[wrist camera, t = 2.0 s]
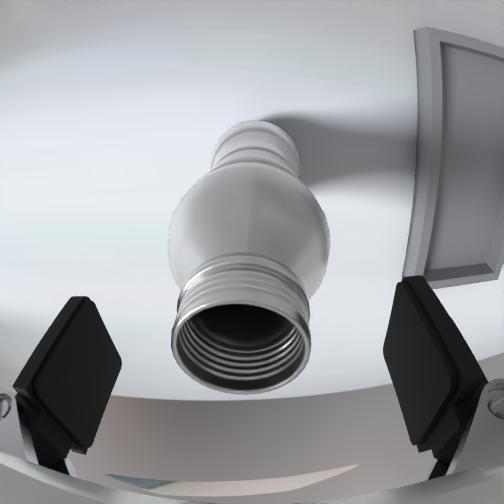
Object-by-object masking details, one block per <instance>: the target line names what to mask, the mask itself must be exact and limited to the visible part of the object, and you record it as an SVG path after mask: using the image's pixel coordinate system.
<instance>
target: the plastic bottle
mask: <svg viewBox="0 0 504 504" xmlns="http://www.w3.org/2000/svg"><path fill="white" fill-rule="evenodd" d="M299 164H300V162H299V154H298V151H297V148H296V145H295V144H294V142H293V140H292V139H291V137H290V136H289V135H288V134H287V133H286V132H285V131H284V130H282V129H281V128H280V127H278V126H276V125H274V124H272V123H269V122H265V121H256V120H251V121H246V122H242V123H239V124H237V125H235V126H233V127H232V128H230V129H229V130H227V131H226V132H225V133H224V134H223V135H222V136H221V137H220V139H219V141H218V142H217V144H216V146H215V148H214V151H213V155H212V161H211V171H210V172H209V173H208V174H206V175H205V176H204V177H202V178H201V179H199V180H198V181H197V182H196V183H195V184H194V185H193V186H192V188H191V189H190V190H189V191H188V192H187V193H186V194H185V196H184V197H183V198H182V199H181V201H180V202H179V204H178V206H177V208H176V209H175V211H174V213H173V216H172V219H171V222H170V226H169V234H168V256H169V264H170V269H171V272H172V274H173V277H174V280H175V282H176V283H177V285H178V287H179V288H180V290H181V293H180V296H179V299H178V304H177V316H176V319H175V323H174V326H173V329H172V337H171V348H172V352H173V356H174V358H175V360H176V362H177V364H178V365H179V366H180V367H181V369H182V370H183V371H184V372H185V373H186V374H187V375H189V376H190V377H191V378H192V379H194V380H195V381H197V382H198V383H200V384H202V385H204V386H206V387H209V388H211V389H214V390H217V391H221V392H225V393H231V394H246V395H247V394H259V393H263V392H268V391H272V390H274V389H277V388H280V387H282V386H284V385H286V384H288V383H289V382H291V381H292V380H293V379H295V378H296V377H297V376H298V375H299V374H300V373H301V372H302V371H303V369H304V368H305V366H306V364H307V362H308V360H309V356H310V352H311V349H310V348H311V335H310V330H309V318H310V309H309V300H310V299H311V297H312V296H313V295H314V294H315V292H316V291H317V289H318V287H319V286H320V284H321V282H322V280H323V277H324V275H325V272H326V267H327V262H328V256H329V250H330V232H329V227H328V224H327V220H326V217H325V214H324V212H323V211H322V209H321V207H320V205H319V203H318V202H317V200H316V198H315V197H314V195H313V193H312V192H311V191H310V190H309V189H308V188H307V187H306V186H305V184H304V183H303V182H302V181H301V180H300V179H299V178H298V177H299Z"/></svg>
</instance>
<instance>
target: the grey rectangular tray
mask: <svg viewBox="0 0 504 504" xmlns="http://www.w3.org/2000/svg"><path fill="white" fill-rule="evenodd" d="M414 40H415V52H416V67H417V90H418V134H417V158H416V174H415V186H414V197H413V207H412V215H411V223H410V231H409V238H408V245H407V251H406V257H405V263H404V269H403V274H402V278H403V277H407V276H416V275H422V276H423V277H424V278H425V280H426V281H427V283H428V284H429V286H430V287H431V289H438V288H445V287H452V286H459V285H466V284H472V283H479V282H485V281H491V280H497V279H498V277H499V274H500V271H501V268H502V265H503V262H504V48H502V47H499V46H496V45H493V44H490V43H487V42H484V41H481V40H478V39H474V38H471V37H467V36H464V35H460V34H456V33H452V32H448V31H444V30H439V29H435V28H430V27H426V28H421V29H417V30H414Z"/></svg>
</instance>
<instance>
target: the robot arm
mask: <svg viewBox="0 0 504 504" xmlns="http://www.w3.org/2000/svg"><path fill="white" fill-rule="evenodd" d="M383 354H384V359H385V362H386V364H387V367H388V370H389V373H390V376H391V379H392V382H393V385H394V388H395V391H396V394H397V397H398V400H399V404H400V407H401V410H402V413H403V417H404V420H405V423H406V427H407V430H408V434H409V437H410V441H411V443H412V444H413V445H417V448H418V451H419V453H420V452H424V451H427V450H430V449H432V452H433V456H434V458H435V459H434V461H433V463H432V465H431V467H430V469H429V472H428V473H427V475H426V477H425V479H424V481H423V482H420V483H416V484H412V485H409V486H405V487H400V488H396V489H392V490H387V491H383V492H377V493H372V494H367V495H361V496H356V497H350V498H343V499H336V500H329V501H319V502H309V503H296V504H504V379H494V380H492V381H490V382H488V381H487V379H486V377H485V375H484V373H483V371H482V370H481V368H480V366H479V364H478V362H477V360H476V358H475V357H474V355H473V353H472V351H471V350H470V348H469V346H468V344H467V343H466V341H465V339H464V338H463V336H462V334H461V333H460V331H459V329H458V328H457V326H456V324H455V323H454V321H453V320H452V318H451V317H450V316H449V315H448V313H447V311H446V310H445V308H444V307H443V305H442V304H441V302H440V301H439V299H438V298H437V296H436V294H435V293H434V291H433V290H432V289H431V287H430V286H429V284H428V283H427V281H426V280H425V278H424V277H423V276H422V275H416V276H407V277H403V279H402V281H401V282H399V283H397V285H396V290H395V296H394V301H393V306H392V311H391V315H390V320H389V325H388V329H387V333H386V338H385V342H384V346H383ZM121 366H122V361H121V357H120V355H119V353H118V351H117V349H116V347H115V345H114V343H113V341H112V339H111V337H110V335H109V333H108V331H107V329H106V327H105V325H104V323H103V321H102V318H101V316H100V314H99V312H98V310H97V307H96V305H95V303H94V302H93V301H91V300H90V298H89V297H86V296H73V297H71V298H70V299H69V300H68V302H67V303H66V304H65V306H64V307H63V309H62V310H61V311H60V313H59V314H58V316H57V317H56V319H55V320H54V321H53V323H52V324H51V326H50V327H49V329H48V330H47V332H46V333H45V335H44V336H43V338H42V339H41V341H40V342H39V344H38V345H37V347H36V348H35V350H34V352H33V353H32V355H31V356H30V358H29V360H28V361H27V363H26V364H25V366H24V368H23V369H22V371H21V373H20V374H19V376H18V378H17V379H16V381H15V383H14V385H13V388H14V389H15V390H16V391H17V395H16V396H15V395H14V394H13V393H12V392H11V391H9V390H0V504H214V503H201V502H191V501H182V500H174V499H167V498H161V497H154V496H148V495H143V494H138V493H133V492H128V491H123V490H119V489H115V488H111V487H107V486H103V485H99V484H95V483H92V482H88V481H85V480H82V479H78V478H77V475H76V473H75V470H74V468H73V465H72V463H71V460H70V458H69V455H68V453H69V450H70V449H71V450H72V451H73V452H77V453H81V454H84V455H86V452H87V449H88V448H89V447H91V446H92V444H93V441H94V438H95V436H96V432H97V430H98V427H99V424H100V422H101V419H102V416H103V413H104V411H105V408H106V405H107V403H108V400H109V397H110V395H111V392H112V390H113V387H114V385H115V382H116V380H117V377H118V375H119V372H120V370H121Z"/></svg>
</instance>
